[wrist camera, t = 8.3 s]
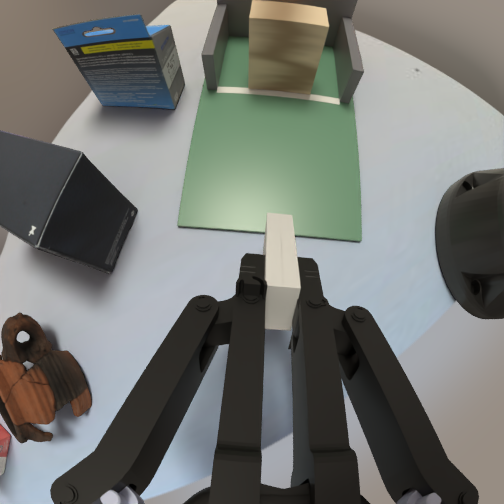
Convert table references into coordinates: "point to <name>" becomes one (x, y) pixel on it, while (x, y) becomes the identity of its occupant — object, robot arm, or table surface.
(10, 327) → the pottery mug
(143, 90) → the label tape cartridge
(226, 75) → the pitch
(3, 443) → the ink cartridge box
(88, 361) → the table surface
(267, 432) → the table surface
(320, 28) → the wooden block
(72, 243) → the small box
